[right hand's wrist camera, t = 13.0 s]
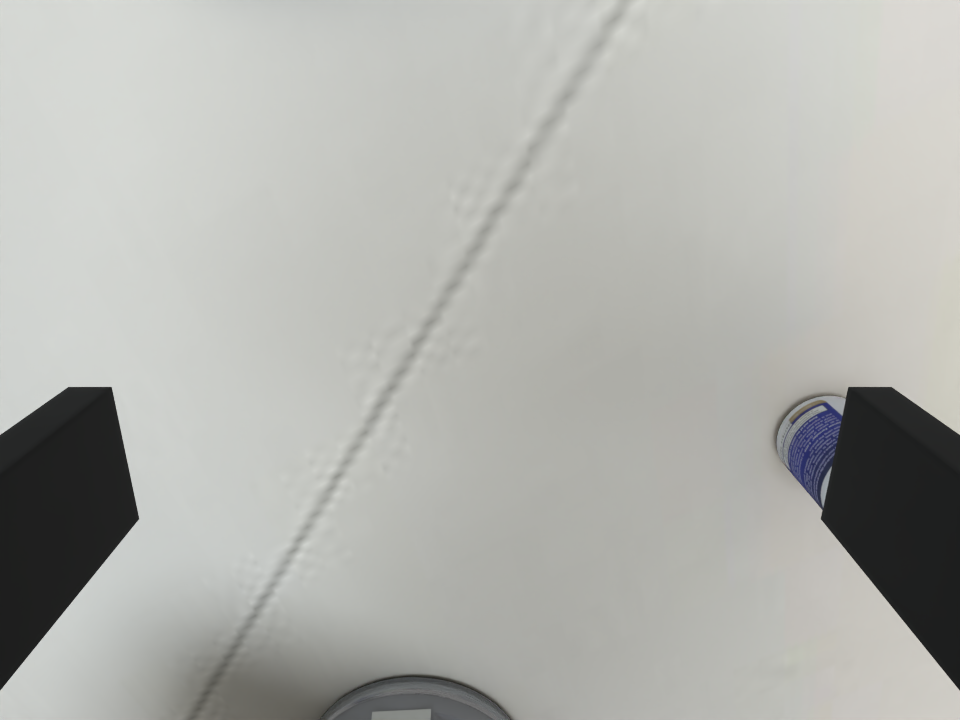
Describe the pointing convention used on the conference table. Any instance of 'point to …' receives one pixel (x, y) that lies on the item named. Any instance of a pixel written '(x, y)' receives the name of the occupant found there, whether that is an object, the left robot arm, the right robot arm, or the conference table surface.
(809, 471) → the pill bottle
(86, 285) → the conference table surface
